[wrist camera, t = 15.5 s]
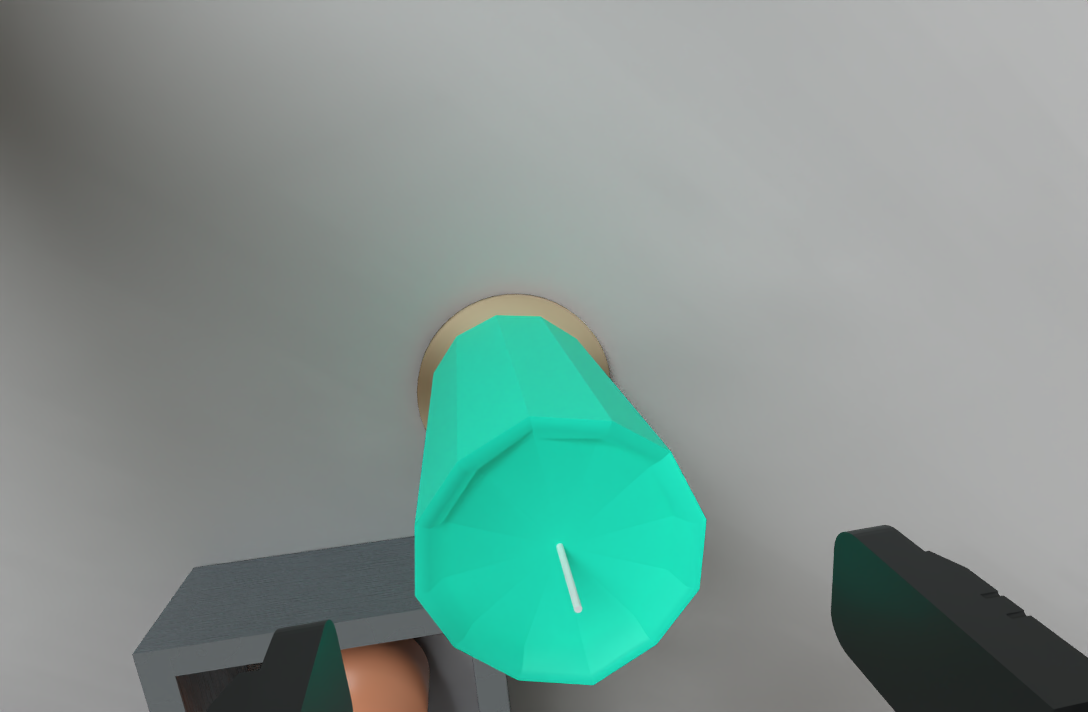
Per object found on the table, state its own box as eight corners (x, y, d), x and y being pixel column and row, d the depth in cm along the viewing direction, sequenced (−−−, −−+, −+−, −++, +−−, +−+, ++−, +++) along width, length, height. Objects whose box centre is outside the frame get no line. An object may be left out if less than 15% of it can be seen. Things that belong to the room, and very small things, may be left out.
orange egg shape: (287, 634, 23) (268, 684, 21) (421, 613, 24) (417, 659, 22) (311, 739, 25) (295, 798, 22) (437, 717, 25) (435, 772, 23)
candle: (609, 448, 23) (759, 696, 12) (454, 488, 23) (452, 787, 11) (579, 295, 22) (718, 410, 10) (410, 335, 21) (357, 503, 10)
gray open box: (193, 567, 23) (132, 654, 19) (489, 525, 24) (496, 597, 20) (253, 797, 26) (212, 918, 21) (515, 749, 27) (526, 854, 23)
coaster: (405, 304, 21) (404, 307, 21) (601, 284, 22) (605, 286, 22) (431, 486, 23) (430, 493, 23) (611, 461, 24) (615, 468, 24)
